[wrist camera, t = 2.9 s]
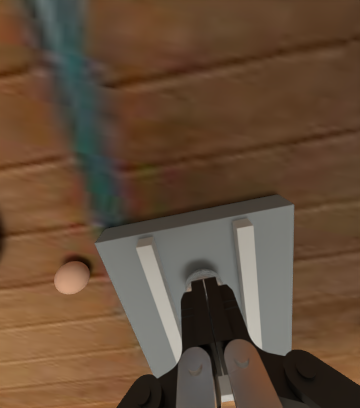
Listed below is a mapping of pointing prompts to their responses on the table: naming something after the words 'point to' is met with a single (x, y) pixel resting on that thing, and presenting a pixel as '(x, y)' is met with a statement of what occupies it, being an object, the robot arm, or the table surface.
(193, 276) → the steel ball
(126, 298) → the slate board
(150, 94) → the table surface
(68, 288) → the terracotta ball
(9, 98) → the table surface
